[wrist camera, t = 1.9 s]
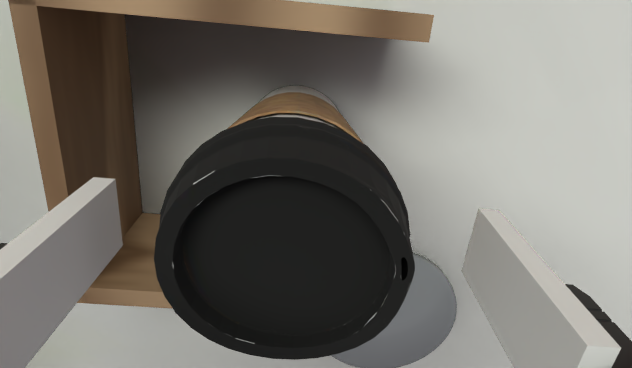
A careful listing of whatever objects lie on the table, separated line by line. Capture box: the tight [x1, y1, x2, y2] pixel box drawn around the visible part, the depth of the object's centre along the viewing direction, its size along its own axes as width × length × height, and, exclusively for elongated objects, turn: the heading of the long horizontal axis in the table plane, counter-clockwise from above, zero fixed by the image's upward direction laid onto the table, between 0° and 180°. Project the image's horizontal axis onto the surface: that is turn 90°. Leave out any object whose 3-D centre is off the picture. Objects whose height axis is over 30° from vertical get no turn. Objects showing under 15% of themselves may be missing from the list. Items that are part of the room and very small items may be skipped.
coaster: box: [332, 253, 456, 368], centre depth 31 cm, size 11×11×1 cm
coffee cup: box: [154, 86, 415, 359], centre depth 19 cm, size 8×8×15 cm
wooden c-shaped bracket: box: [8, 0, 434, 308], centre depth 22 cm, size 16×15×8 cm
